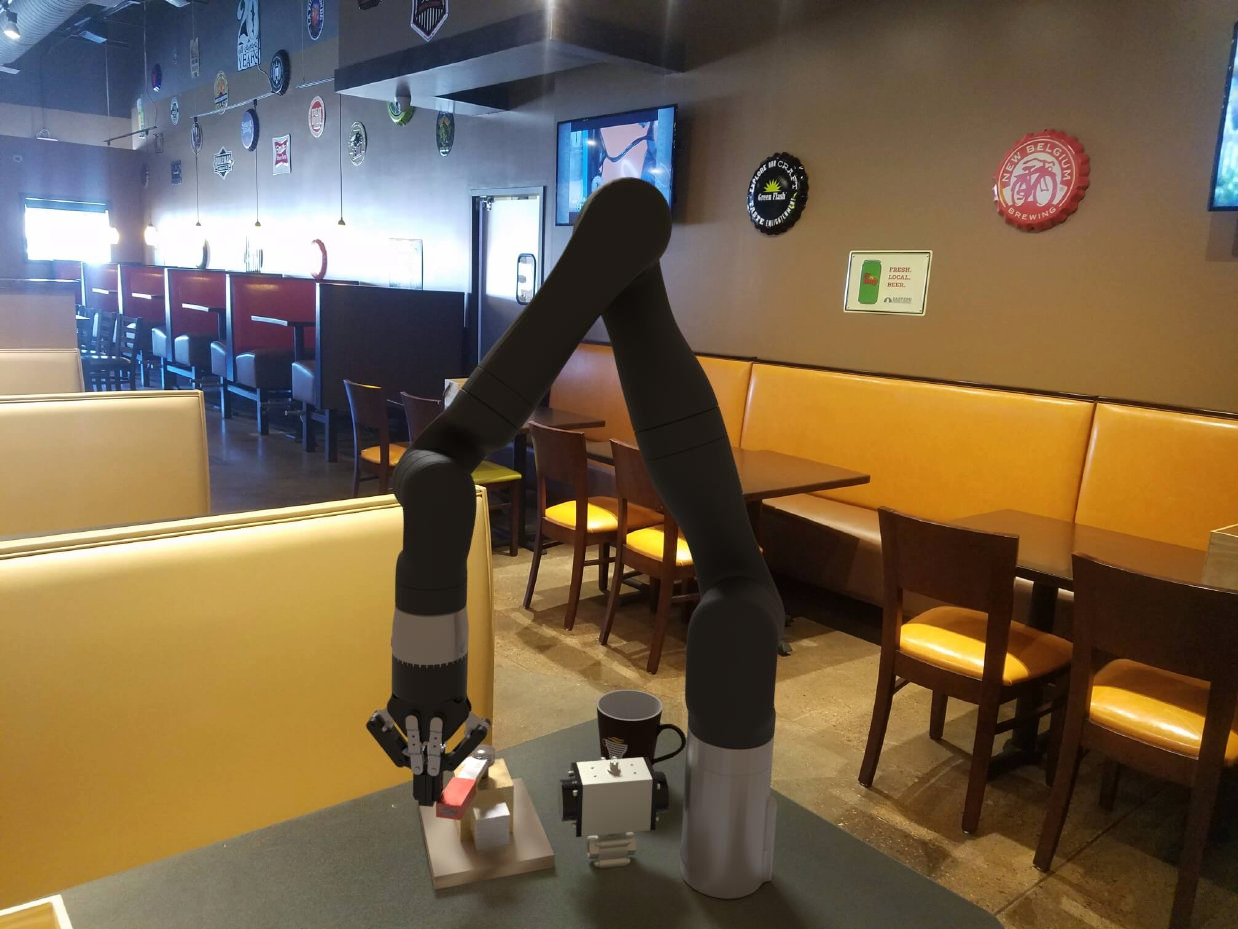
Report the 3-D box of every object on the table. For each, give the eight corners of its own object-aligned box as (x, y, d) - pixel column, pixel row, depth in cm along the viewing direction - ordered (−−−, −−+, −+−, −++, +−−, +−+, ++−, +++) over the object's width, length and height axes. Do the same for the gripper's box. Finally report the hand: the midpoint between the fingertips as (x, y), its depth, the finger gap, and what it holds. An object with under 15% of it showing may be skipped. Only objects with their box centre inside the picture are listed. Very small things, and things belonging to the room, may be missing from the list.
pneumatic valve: (666, 867, 96) (671, 768, 94) (561, 878, 94) (564, 777, 92) (654, 836, 102) (658, 742, 99) (555, 846, 99) (557, 750, 97)
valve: (496, 788, 108) (497, 733, 106) (520, 852, 96) (520, 791, 94) (448, 796, 106) (447, 740, 104) (465, 862, 94) (465, 800, 92)
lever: (474, 755, 101) (474, 742, 100) (498, 758, 100) (498, 745, 100) (435, 817, 89) (435, 802, 88) (461, 820, 88) (461, 806, 88)
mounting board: (521, 788, 110) (521, 778, 110) (554, 867, 96) (554, 854, 95) (417, 805, 106) (417, 793, 106) (434, 889, 91) (434, 876, 91)
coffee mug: (581, 770, 115) (583, 700, 113) (632, 751, 120) (634, 684, 118) (635, 812, 106) (638, 737, 104) (688, 790, 111) (692, 718, 109)
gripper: (502, 637, 91) (497, 787, 94) (378, 627, 91) (377, 777, 94) (488, 667, 83) (482, 829, 87) (352, 656, 84) (352, 818, 87)
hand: (427, 802), depth 90 cm, fingers closed
